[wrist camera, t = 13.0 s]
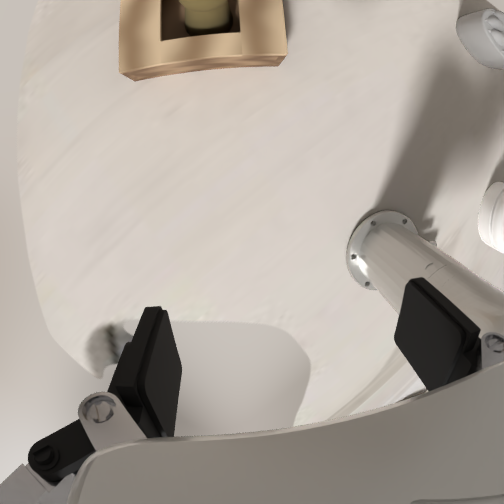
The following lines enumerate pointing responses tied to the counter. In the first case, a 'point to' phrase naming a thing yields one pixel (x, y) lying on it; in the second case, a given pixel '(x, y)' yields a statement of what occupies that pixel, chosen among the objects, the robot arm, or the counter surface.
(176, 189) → the counter surface
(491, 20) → the lumpy-topped squat cylinder
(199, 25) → the cork
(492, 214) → the honey pot
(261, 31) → the drop box
